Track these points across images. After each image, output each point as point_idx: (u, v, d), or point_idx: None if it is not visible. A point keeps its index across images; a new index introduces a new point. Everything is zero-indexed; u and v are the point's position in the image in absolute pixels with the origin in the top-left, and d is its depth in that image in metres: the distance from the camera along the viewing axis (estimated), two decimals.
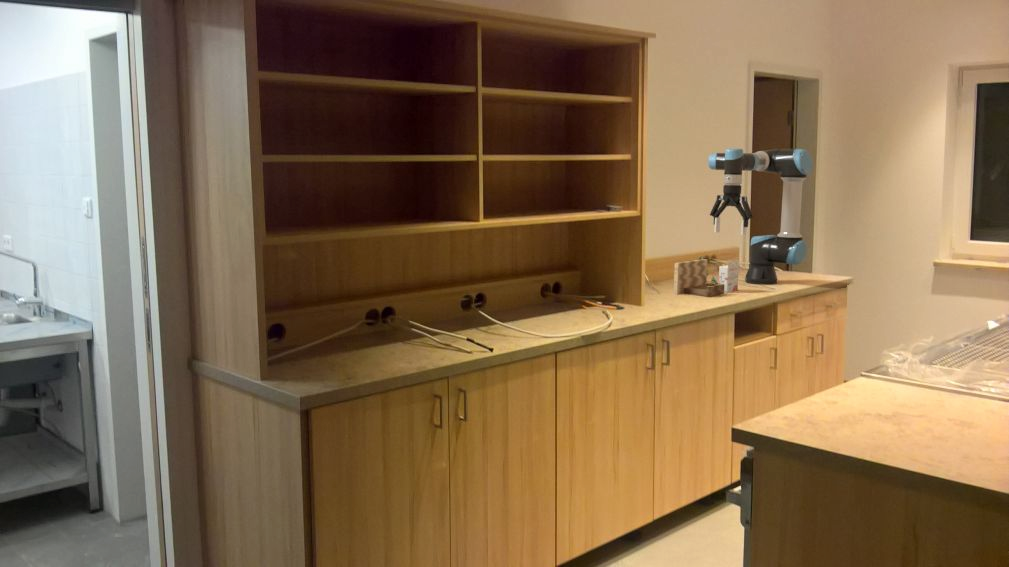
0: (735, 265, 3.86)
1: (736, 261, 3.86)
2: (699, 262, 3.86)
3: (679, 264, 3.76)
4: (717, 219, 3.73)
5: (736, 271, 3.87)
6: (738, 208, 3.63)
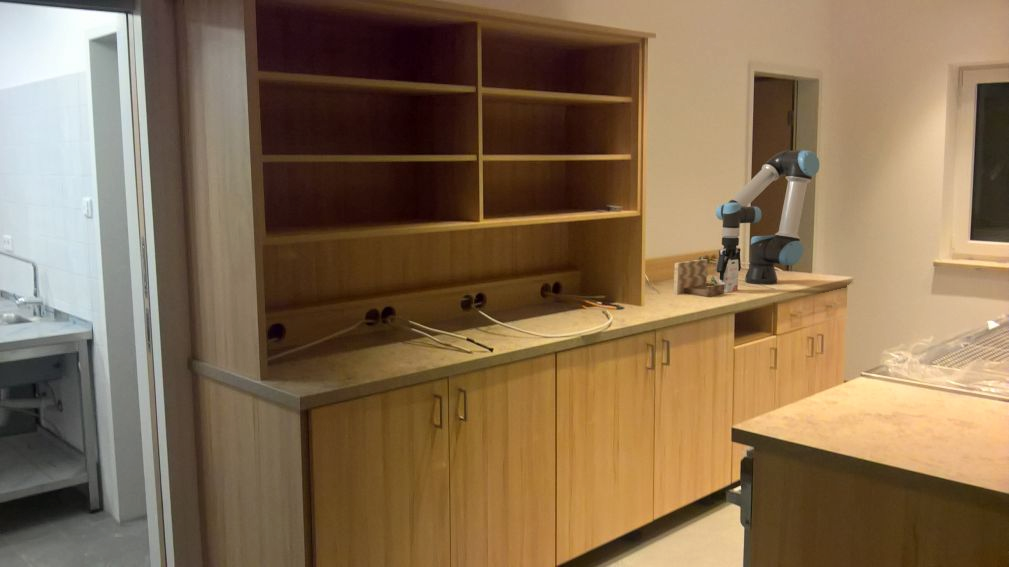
0: (735, 265, 3.86)
1: (736, 261, 3.86)
2: (699, 262, 3.86)
3: (679, 264, 3.76)
4: None
5: (736, 271, 3.87)
6: None
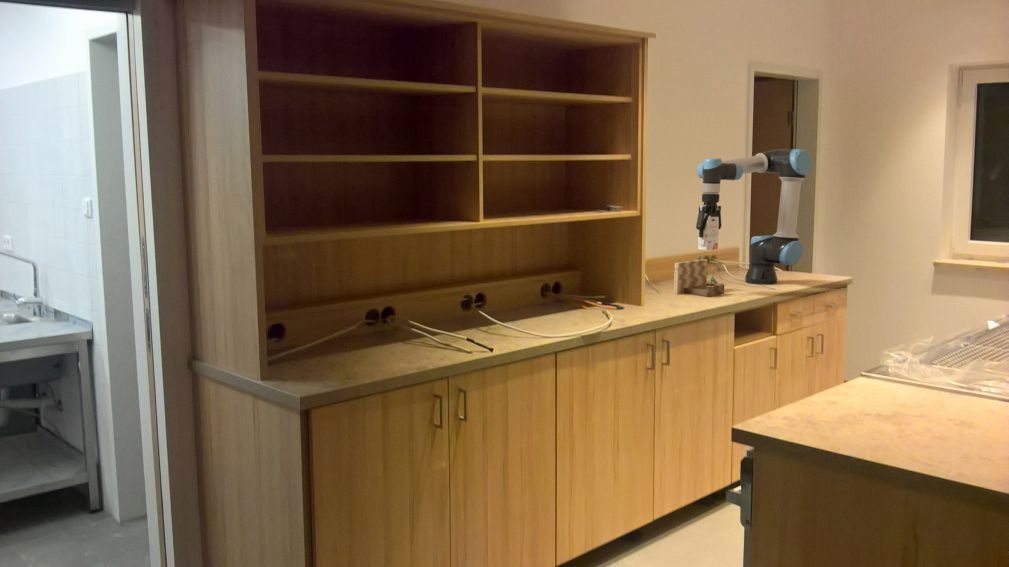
0: (715, 222, 3.76)
1: (716, 218, 3.77)
2: (699, 262, 3.86)
3: (679, 264, 3.76)
4: None
5: (716, 229, 3.77)
6: None
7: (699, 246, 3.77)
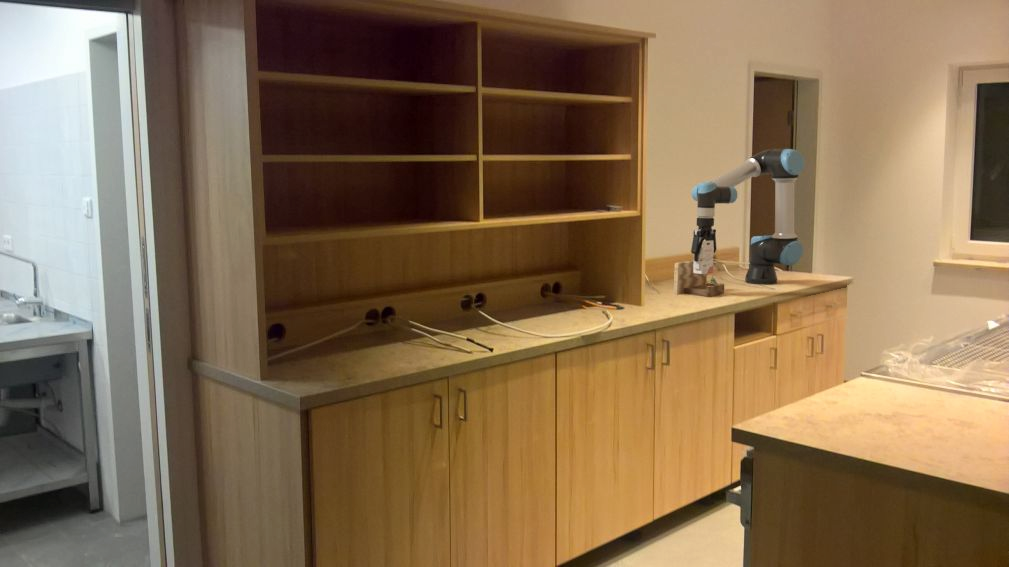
0: (710, 246, 3.77)
1: (711, 242, 3.77)
2: None
3: (679, 264, 3.76)
4: None
5: (711, 252, 3.78)
6: None
7: (694, 270, 3.77)
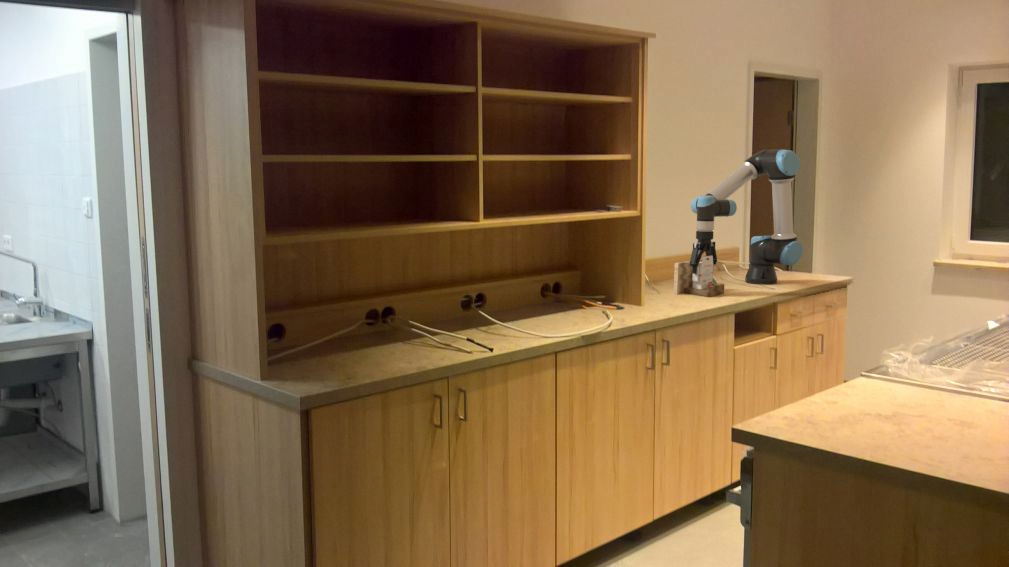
0: (709, 261, 3.78)
1: (710, 257, 3.78)
2: None
3: (679, 264, 3.76)
4: None
5: (711, 268, 3.79)
6: None
7: (694, 285, 3.78)
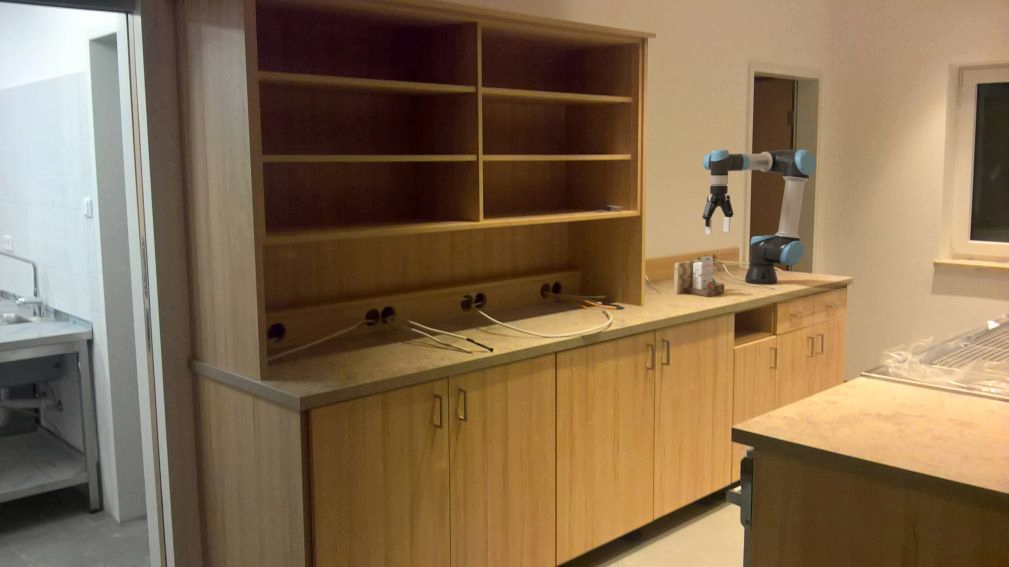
0: (709, 261, 3.78)
1: (710, 257, 3.78)
2: None
3: (679, 264, 3.76)
4: (725, 218, 3.82)
5: (711, 268, 3.79)
6: None
7: (694, 285, 3.78)
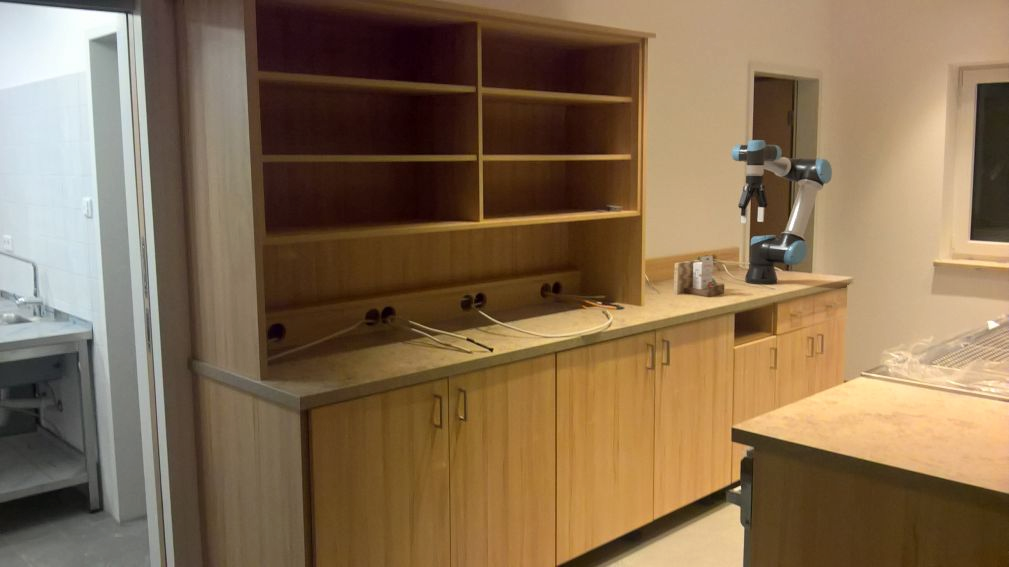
0: (709, 261, 3.78)
1: (710, 257, 3.78)
2: None
3: (679, 264, 3.76)
4: (759, 209, 3.86)
5: (711, 268, 3.79)
6: None
7: (694, 285, 3.78)
